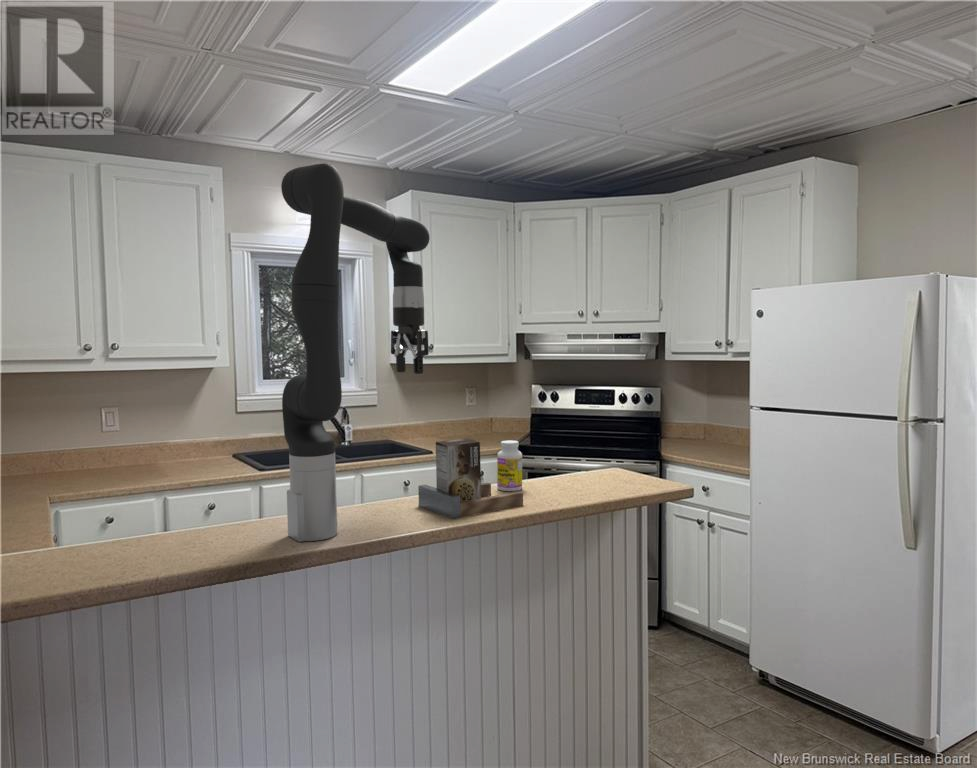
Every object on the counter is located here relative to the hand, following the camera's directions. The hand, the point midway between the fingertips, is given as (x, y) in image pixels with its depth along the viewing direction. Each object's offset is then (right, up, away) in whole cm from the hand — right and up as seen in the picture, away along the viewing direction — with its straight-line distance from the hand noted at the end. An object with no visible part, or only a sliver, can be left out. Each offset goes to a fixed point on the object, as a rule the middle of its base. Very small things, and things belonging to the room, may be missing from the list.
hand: (409, 372), depth 167 cm
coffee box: (+12, -33, -4) cm, 35 cm away
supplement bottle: (+25, -31, +16) cm, 43 cm away
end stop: (+8, -33, -7) cm, 34 cm away
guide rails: (+16, -32, -1) cm, 36 cm away
